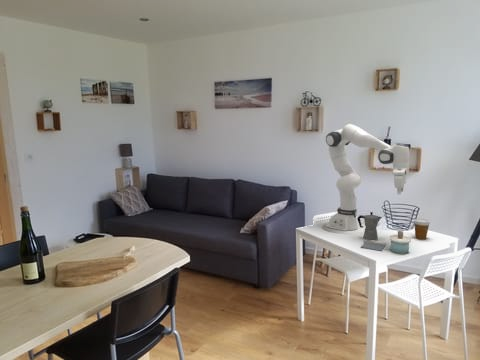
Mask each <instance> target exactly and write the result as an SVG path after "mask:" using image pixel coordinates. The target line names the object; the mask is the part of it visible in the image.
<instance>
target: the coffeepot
mask: <svg viewBox="0 0 480 360" xmlns="http://www.w3.org/2000/svg"><path fill="white" fill-rule="evenodd" d="M361 219H363V220H364V221H363V222H364V225H362V223H361V221H362V220H361ZM381 219H383V216H379V215H376V214H373V211H370V214H365V215H363V214H362V215H358V216H357V217H356V221H357V223H358V225H359V227H360V228H364V226H365V229H364V231H363V239H364V240H365V241H370V240H375V241H377V240H378V238H379V237H378V229H377V227H378V223H379V222H380V220H381Z"/></svg>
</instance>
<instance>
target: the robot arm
mask: <svg viewBox="0 0 480 360" xmlns="http://www.w3.org/2000/svg"><path fill="white" fill-rule="evenodd" d="M325 142H326V144H327V146H328V153H329V158H330V159H331V163H332V165H333V167H334V169H335V171H336V172H337V173H338V174H339V175H340V176H339V178H338V180H336V185H335V186H336V188H337V189H338V193H339V196H340V205H339V207H338V208H337V210H336V211H337V212H336V213H335V214H333V215H332V216H330V218H329V221H328V222H326V224H325V227H326V228H329V229H330V228H331V229H334V230H339V231H343V232H345V231H354V230H357V229H358V228H359V226H358V220H357V217H358V215H357V214H358V211H357V209H358V208H357V197H356V195H355V189H356V188H357V187H358V186H360V184H361V182H362V180H361V179H362V178H361V177H360V175H358V174H357V172H356V170H355V169H354V168H353V166H352V165H351V162H350V160H349V158H348V155H347V153H346V150H345V146H348V145H349V144H350V143H352V144H353V145H355V146H357V147H359V148H371V149H375V150H377V151H379V152H378V155H377V158H378V162H379V163H380V164H381V165H382V164H383V165H392V175H393V183H394V184H393V185H394V188H395V189H396V190H397V191H396V192H397V193H396V194H397V195H401V194H402V192H403V191H404V187H405V184H406V182H407V175H408V174H410V164H409V160H410V147H409V145H408V144H406V143H403V142H402V143H399V142H398V143H394V144H393V145H390V144H389V143H387V142H385V141H383V140H382V139H379V138H377V137H376V136H373V135H372V134H370V133H369V132H367V131H366V130H364V129H362V128H361V127H359V126H357V125H355V124H353V123H348V124H346V125H344V127H343V128H340V129H337V130H334V131H330V132H329V133H327V135H326V136H325Z"/></svg>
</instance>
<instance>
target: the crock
mask: <svg viewBox="0 0 480 360" xmlns="http://www.w3.org/2000/svg"><path fill="white" fill-rule="evenodd" d="M410 243H411V242H409V243H398V242H394V241H391V240H390V249H389V250H390V251H391V252H392V253H395V254H398V255H407V254H409V252H410Z"/></svg>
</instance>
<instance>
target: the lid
mask: <svg viewBox="0 0 480 360" xmlns="http://www.w3.org/2000/svg"><path fill="white" fill-rule="evenodd" d="M389 240H390V242H391V241H394V242H398V243H409V242H410V243H411V242H412V239H411V237H409V236H407V235H404V231H403V230H397V234H391V235H390V236H389ZM410 243H409V244H410Z"/></svg>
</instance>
